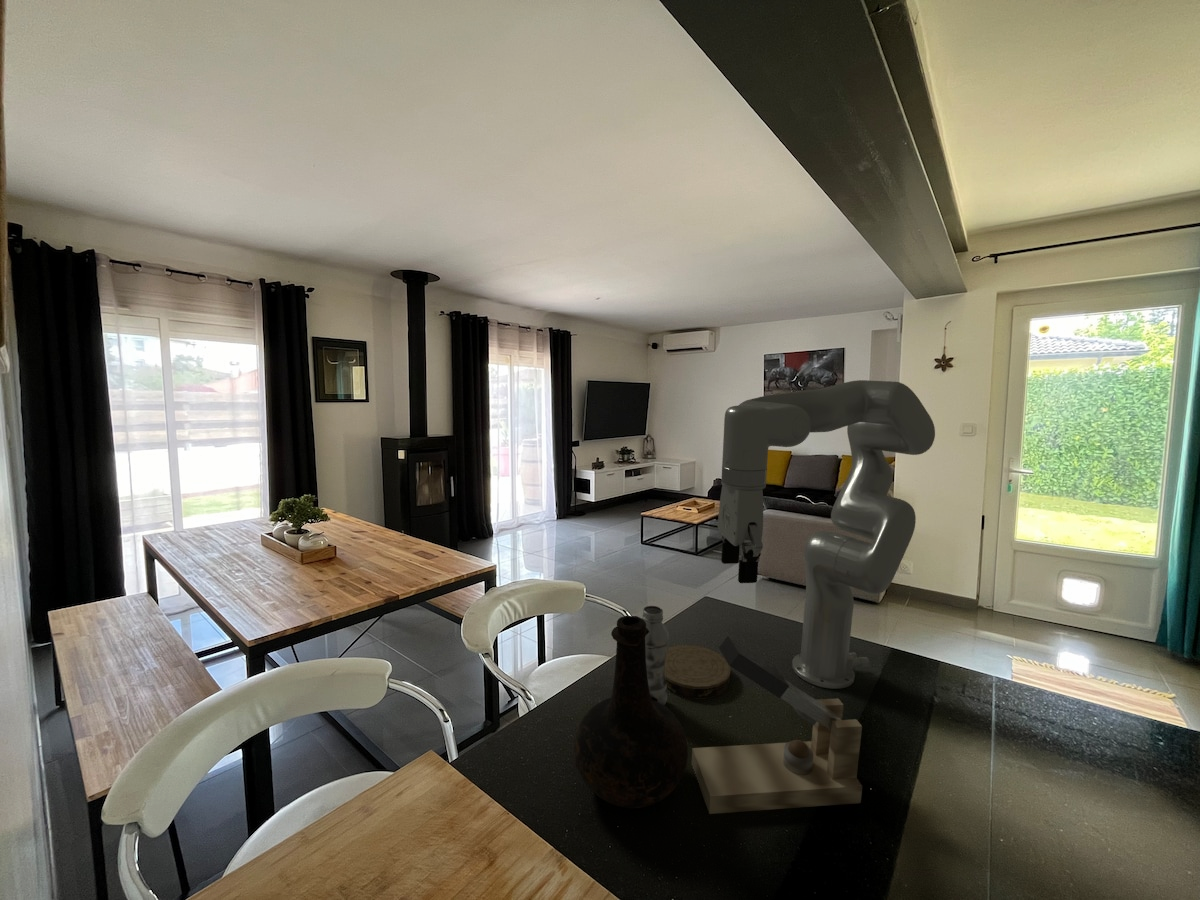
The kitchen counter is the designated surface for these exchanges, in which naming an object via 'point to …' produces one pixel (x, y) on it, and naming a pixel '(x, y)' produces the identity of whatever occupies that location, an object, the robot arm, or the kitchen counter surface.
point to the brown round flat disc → (696, 672)
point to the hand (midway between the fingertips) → (738, 571)
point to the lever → (775, 683)
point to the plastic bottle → (656, 652)
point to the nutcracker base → (784, 770)
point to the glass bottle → (631, 732)
